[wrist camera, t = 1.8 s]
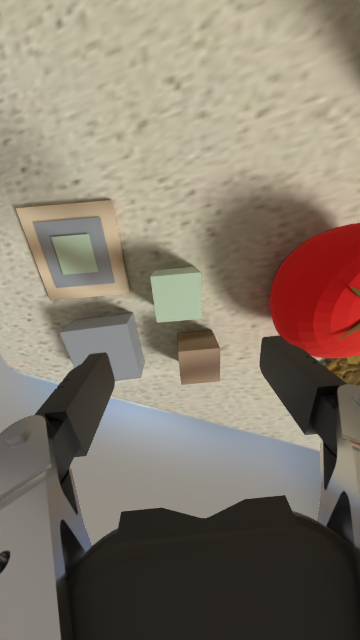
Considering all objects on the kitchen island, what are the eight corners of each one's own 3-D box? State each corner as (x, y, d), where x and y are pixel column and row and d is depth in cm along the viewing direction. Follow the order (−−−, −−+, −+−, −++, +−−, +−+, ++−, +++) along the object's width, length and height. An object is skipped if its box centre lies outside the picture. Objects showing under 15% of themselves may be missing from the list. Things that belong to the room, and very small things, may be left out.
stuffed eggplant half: (349, 330, 28) (276, 390, 32) (379, 343, 24) (291, 411, 28) (384, 363, 30) (311, 417, 34) (419, 381, 25) (330, 440, 30)
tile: (19, 209, 19) (10, 207, 18) (112, 201, 19) (109, 198, 18) (53, 298, 23) (47, 301, 22) (130, 292, 23) (128, 294, 22)
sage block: (154, 269, 22) (150, 276, 18) (194, 266, 22) (200, 272, 18) (159, 307, 24) (156, 322, 20) (196, 304, 24) (202, 318, 20)
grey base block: (75, 319, 25) (59, 332, 21) (133, 311, 25) (126, 323, 21) (93, 366, 28) (82, 385, 24) (145, 360, 28) (140, 377, 24)
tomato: (339, 199, 20) (491, 158, 11) (374, 285, 24) (507, 312, 15) (233, 283, 23) (276, 310, 14) (280, 346, 27) (338, 402, 18)
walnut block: (177, 332, 26) (177, 351, 21) (211, 329, 26) (220, 348, 21) (179, 361, 28) (181, 384, 23) (211, 358, 28) (219, 381, 23)
